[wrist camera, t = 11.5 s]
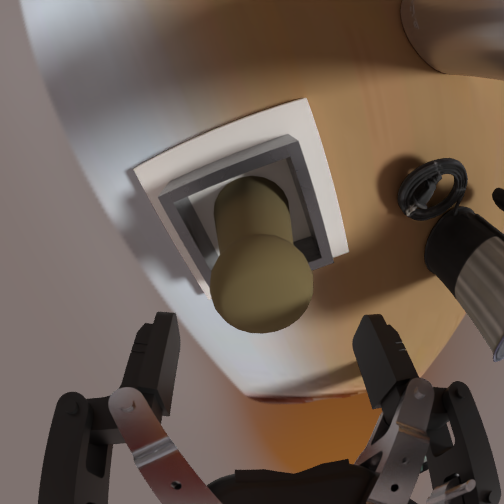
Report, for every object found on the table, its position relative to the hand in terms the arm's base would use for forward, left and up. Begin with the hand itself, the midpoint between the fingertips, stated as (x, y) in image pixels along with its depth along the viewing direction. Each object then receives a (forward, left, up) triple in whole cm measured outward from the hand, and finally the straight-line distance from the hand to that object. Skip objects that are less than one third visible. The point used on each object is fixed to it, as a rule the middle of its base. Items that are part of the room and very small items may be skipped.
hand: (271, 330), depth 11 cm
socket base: (0, 0, -14) cm, 14 cm away
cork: (0, 0, -13) cm, 13 cm away
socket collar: (0, 0, -12) cm, 12 cm away
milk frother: (-20, 0, -14) cm, 25 cm away
